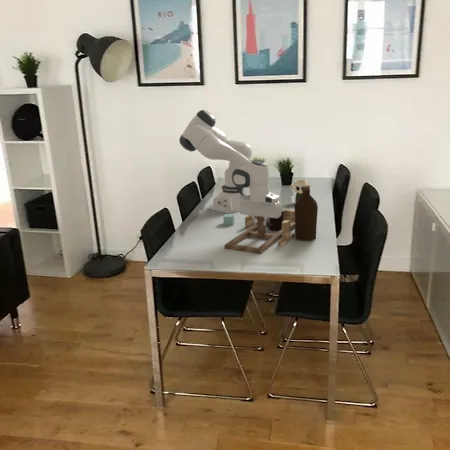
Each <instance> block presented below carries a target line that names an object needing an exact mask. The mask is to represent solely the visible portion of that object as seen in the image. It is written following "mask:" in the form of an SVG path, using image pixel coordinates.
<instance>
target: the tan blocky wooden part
mask: <svg viewBox="0 0 450 450" xmlns="http://www.w3.org/2000/svg"><path fill="white" fill-rule="evenodd" d="M294 238H295V232H292V231H291V221H290V220H285V221H283V222H282V238H281V239H280V240H279V241H277V247H278V246H280V247H284V246H285V245H286V244H287V243H289V242H290V241H291V240H292V239H294Z"/></svg>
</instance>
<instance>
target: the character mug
mask: <svg viewBox="0 0 450 450" xmlns="http://www.w3.org/2000/svg"><path fill="white" fill-rule="evenodd" d="M303 186H310V187H311V184H310V183H308V181H307V180H306V179H296V180H294V183H291V184H290V189H291V190H293V191H294V192H295V198H294V199H295V200H294V202H295V203H296V201H297V200H298V199H299V198H300V197H301V196H302V194H303V192H302V190H303Z"/></svg>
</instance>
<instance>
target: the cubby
mask: <svg viewBox="0 0 450 450" xmlns="http://www.w3.org/2000/svg"><path fill="white" fill-rule="evenodd" d="M256 219H257V216H256ZM285 220H290V221H291V222H293V223H294V222H295V209H294V210H293V209H284V216H283V221H285ZM253 225H254V221H253V219H252V215H245V216H244V228H245V229H246V230H247V229H249V228H250V227H252V226H253ZM294 236H296V230H295V229H294Z"/></svg>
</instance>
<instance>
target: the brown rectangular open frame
mask: <svg viewBox="0 0 450 450" xmlns="http://www.w3.org/2000/svg"><path fill="white" fill-rule="evenodd" d="M264 220H265V219H264V217H260V216H257V225H253V226H252V227H250V228H248V229H247V228H246V229H245V230H244V231H243V232H241V233H240V234H238V235H237V236H236V237H234V238H233V239H231V240H230V241H228V242H227V243H225V244H224V245H223V246H224V248H223V249H224V250H232V251H238V252H245V253H250V254H251V253H252V254H259V255H261V254H263V253H264V252H265V251H267V250H268V249H269V248H271V247H272V246H274V245H275V244H276V243H278V241H279V240H281V239H282V230H279V231H277V232H276V233H270V232H269V233H268V232H267V226H268V227H269V225H268V220H267V222H266V226H262V222H263V221H264ZM293 230H295V223H294V222H291V232H292V231H293ZM247 238H256V239H257V240H258V239H259V240H266V241H265V242H263V243H262V244H260V245H259V246H258V247H255V246H247V245H241V244H240V243H241V242H243V241H244V240H246V239H247Z"/></svg>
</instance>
